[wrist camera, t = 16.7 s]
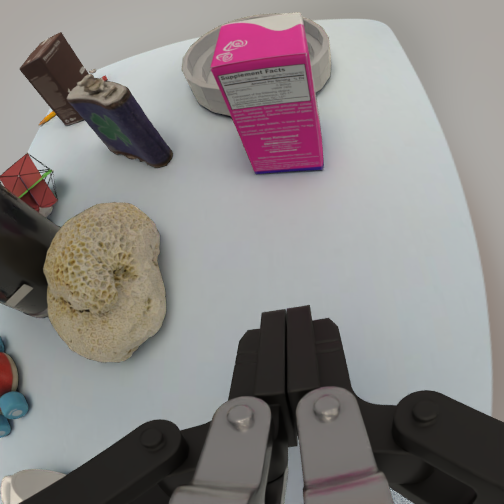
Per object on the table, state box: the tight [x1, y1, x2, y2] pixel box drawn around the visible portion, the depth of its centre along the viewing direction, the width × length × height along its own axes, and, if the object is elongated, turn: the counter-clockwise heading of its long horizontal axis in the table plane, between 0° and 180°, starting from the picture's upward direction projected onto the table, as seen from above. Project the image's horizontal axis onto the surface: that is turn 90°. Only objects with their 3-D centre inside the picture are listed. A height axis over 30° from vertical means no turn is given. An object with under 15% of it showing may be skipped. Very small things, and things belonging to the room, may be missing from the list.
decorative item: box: [43, 202, 166, 363], centre depth 22 cm, size 12×9×10 cm
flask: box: [66, 69, 173, 168], centre depth 26 cm, size 9×3×11 cm, turn 60°
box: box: [20, 32, 89, 125], centre depth 32 cm, size 6×4×12 cm
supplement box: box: [210, 12, 324, 174], centre depth 22 cm, size 6×6×12 cm
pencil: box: [39, 76, 107, 125], centre depth 39 cm, size 1×13×1 cm
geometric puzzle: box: [0, 152, 58, 217], centre depth 29 cm, size 7×7×8 cm
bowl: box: [182, 13, 331, 116], centre depth 30 cm, size 15×15×4 cm
